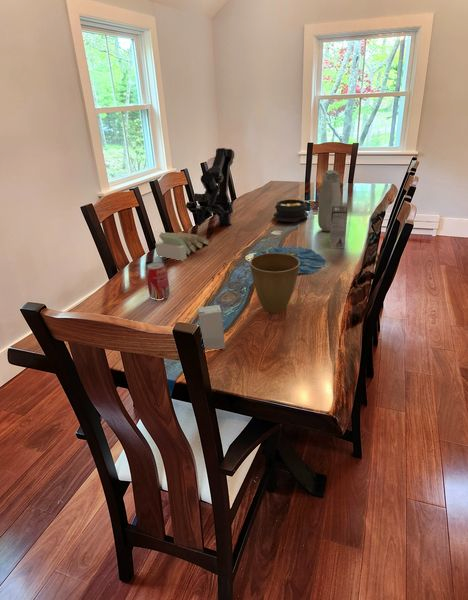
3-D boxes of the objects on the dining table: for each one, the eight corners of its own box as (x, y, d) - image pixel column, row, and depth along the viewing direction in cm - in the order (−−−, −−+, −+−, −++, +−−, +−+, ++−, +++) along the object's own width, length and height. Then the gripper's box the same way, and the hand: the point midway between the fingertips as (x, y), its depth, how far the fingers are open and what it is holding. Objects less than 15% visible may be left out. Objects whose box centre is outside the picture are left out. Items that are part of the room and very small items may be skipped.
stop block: (161, 254, 176) (159, 241, 173) (186, 259, 169) (185, 245, 166) (157, 256, 174) (155, 243, 171) (182, 261, 167) (180, 248, 164)
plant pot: (245, 316, 124) (243, 268, 116) (259, 295, 136) (258, 250, 129) (292, 322, 119) (293, 273, 111) (302, 300, 131) (304, 254, 124)
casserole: (303, 226, 202) (304, 209, 198) (268, 224, 208) (267, 208, 204) (312, 212, 223) (312, 197, 219) (279, 211, 229) (279, 196, 225)
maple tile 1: (192, 237, 189) (178, 232, 179) (209, 240, 184) (196, 234, 174) (191, 241, 189) (177, 236, 179) (208, 244, 184) (195, 239, 174)
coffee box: (329, 241, 180) (331, 205, 172) (344, 241, 179) (347, 205, 171) (329, 248, 172) (332, 211, 164) (345, 248, 171) (348, 211, 163)
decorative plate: (330, 254, 171) (331, 242, 168) (320, 282, 145) (321, 269, 143) (263, 246, 179) (263, 235, 177) (242, 272, 154) (242, 259, 152)
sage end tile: (172, 248, 178) (161, 232, 170) (190, 251, 174) (179, 235, 165) (170, 251, 178) (158, 236, 169) (188, 255, 173) (177, 239, 164)
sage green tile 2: (185, 241, 185) (171, 232, 175) (202, 244, 180) (189, 235, 171) (184, 245, 185) (170, 236, 175) (201, 248, 180) (188, 239, 170)
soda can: (151, 293, 141) (145, 262, 136) (171, 292, 142) (166, 260, 136) (149, 302, 135) (143, 270, 130) (169, 301, 135) (165, 268, 130)
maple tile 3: (178, 245, 181) (165, 232, 172) (196, 248, 177) (184, 235, 167) (176, 249, 181) (164, 236, 172) (194, 252, 176) (182, 239, 167)
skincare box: (223, 341, 112) (220, 303, 106) (225, 350, 108) (222, 311, 102) (201, 344, 111) (197, 306, 105) (203, 353, 107) (199, 314, 101)
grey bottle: (340, 233, 189) (345, 172, 176) (319, 234, 189) (322, 173, 176) (336, 226, 198) (340, 168, 185) (315, 227, 198) (318, 169, 185)
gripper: (185, 184, 184) (173, 214, 180) (219, 187, 174) (206, 218, 171) (197, 197, 193) (185, 226, 190) (229, 200, 184) (218, 230, 181)
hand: (198, 225), depth 183 cm, fingers closed
